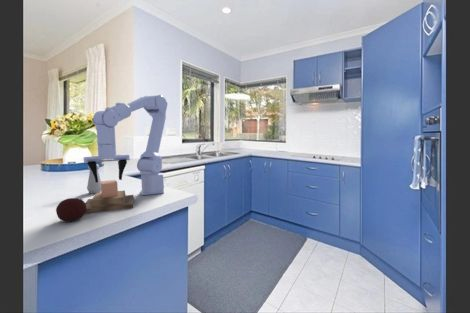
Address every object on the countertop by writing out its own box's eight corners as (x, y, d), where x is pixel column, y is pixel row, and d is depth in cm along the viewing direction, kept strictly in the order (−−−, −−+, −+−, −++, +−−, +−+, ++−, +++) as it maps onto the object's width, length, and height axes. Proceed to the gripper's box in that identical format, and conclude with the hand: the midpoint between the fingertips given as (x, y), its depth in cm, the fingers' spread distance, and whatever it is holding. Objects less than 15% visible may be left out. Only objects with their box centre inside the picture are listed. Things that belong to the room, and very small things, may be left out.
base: (133, 198, 93) (133, 188, 92) (133, 208, 81) (132, 197, 81) (88, 202, 86) (87, 192, 86) (80, 214, 75) (80, 202, 74)
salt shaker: (95, 194, 97) (93, 165, 96) (84, 194, 98) (82, 165, 97) (105, 191, 103) (103, 163, 101) (94, 190, 104) (93, 163, 103)
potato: (62, 217, 72) (61, 196, 71) (90, 214, 74) (89, 194, 74) (52, 226, 65) (50, 203, 64) (82, 223, 67) (81, 200, 67)
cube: (116, 192, 87) (115, 179, 86) (117, 195, 83) (117, 182, 82) (101, 194, 84) (100, 181, 84) (102, 197, 80) (101, 184, 79)
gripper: (126, 143, 89) (128, 176, 90) (82, 144, 80) (85, 180, 82) (129, 144, 83) (131, 179, 84) (82, 145, 75) (85, 184, 76)
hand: (108, 180), depth 83 cm, fingers open, 7 cm apart
